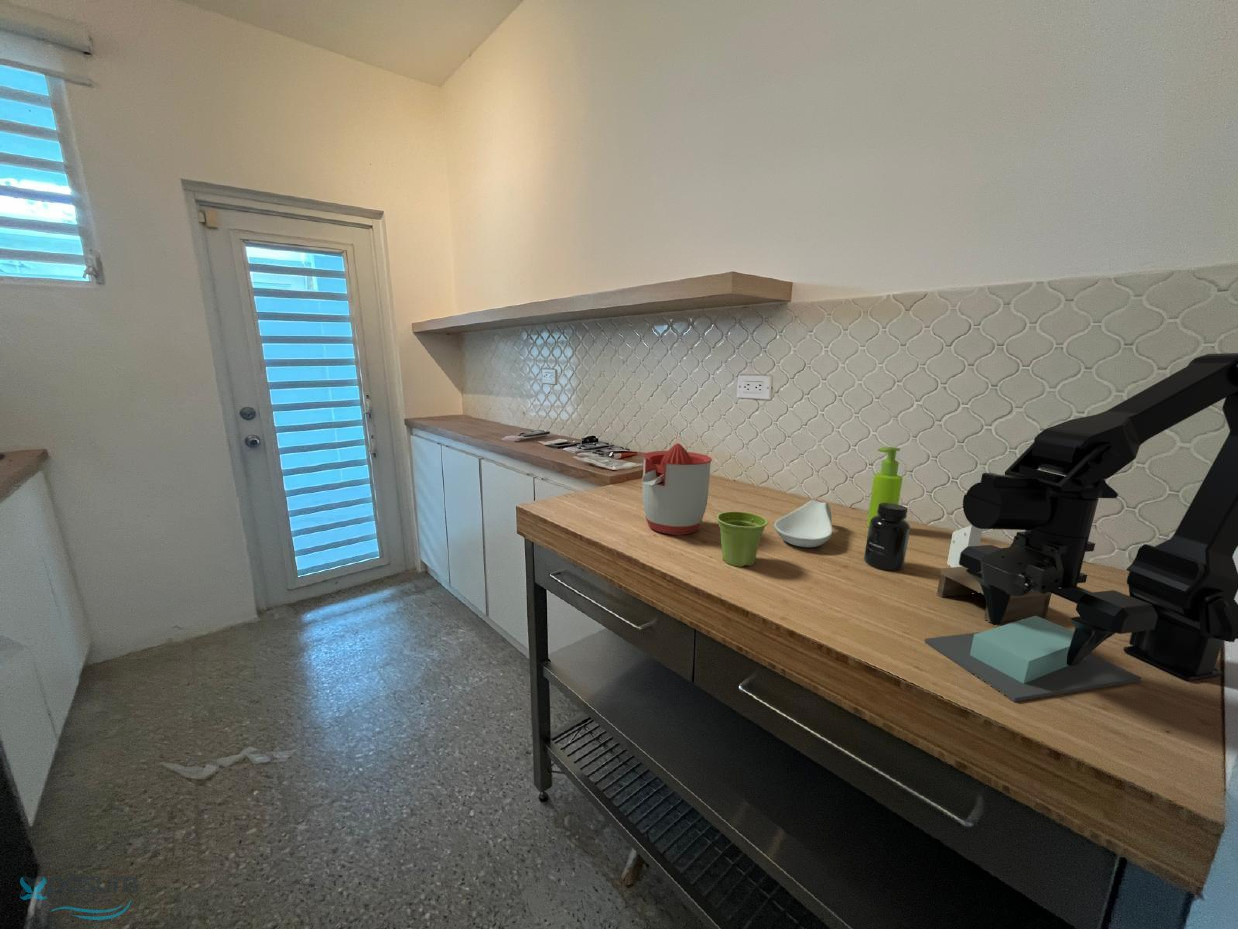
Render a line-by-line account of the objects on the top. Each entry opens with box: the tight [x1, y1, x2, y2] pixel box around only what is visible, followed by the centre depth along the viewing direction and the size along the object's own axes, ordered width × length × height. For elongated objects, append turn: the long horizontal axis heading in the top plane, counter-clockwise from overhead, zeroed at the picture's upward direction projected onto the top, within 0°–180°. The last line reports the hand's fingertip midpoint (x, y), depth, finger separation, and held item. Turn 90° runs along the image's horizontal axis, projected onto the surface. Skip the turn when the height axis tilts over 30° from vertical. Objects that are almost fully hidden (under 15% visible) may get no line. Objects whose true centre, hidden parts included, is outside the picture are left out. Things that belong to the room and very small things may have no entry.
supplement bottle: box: [863, 503, 911, 572], centre depth 89 cm, size 7×7×12 cm
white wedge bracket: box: [946, 524, 983, 568], centre depth 87 cm, size 4×10×9 cm, turn 168°
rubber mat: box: [923, 631, 1142, 703], centre depth 61 cm, size 12×20×1 cm, turn 103°
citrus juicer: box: [641, 443, 713, 536], centre depth 105 cm, size 16×17×20 cm
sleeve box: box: [936, 567, 1053, 624], centre depth 75 cm, size 9×11×5 cm
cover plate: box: [970, 616, 1086, 684], centre depth 60 cm, size 6×14×3 cm, turn 113°
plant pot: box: [716, 510, 768, 568], centre depth 89 cm, size 9×9×9 cm
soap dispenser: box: [866, 446, 904, 528], centre depth 110 cm, size 6×7×20 cm
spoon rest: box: [773, 499, 833, 549], centre depth 105 cm, size 24×12×7 cm, turn 144°
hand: (1030, 643), depth 60 cm, fingers open, 9 cm apart
